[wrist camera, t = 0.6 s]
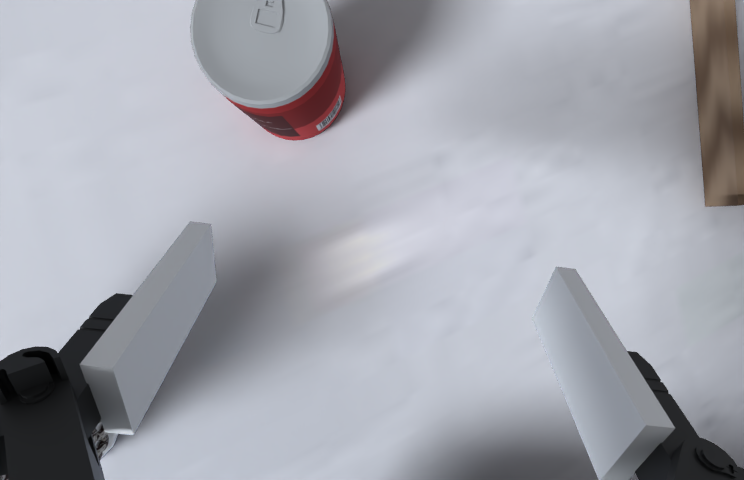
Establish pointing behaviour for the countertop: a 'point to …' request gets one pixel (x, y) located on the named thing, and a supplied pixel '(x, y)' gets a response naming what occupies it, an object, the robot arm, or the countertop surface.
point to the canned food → (272, 61)
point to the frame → (719, 100)
